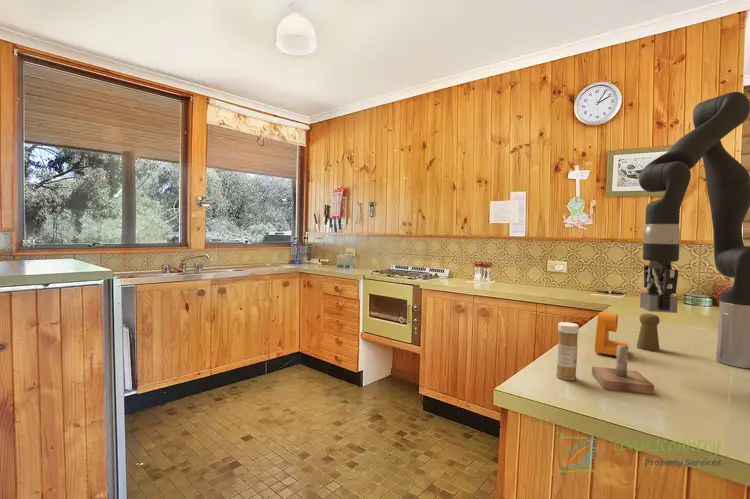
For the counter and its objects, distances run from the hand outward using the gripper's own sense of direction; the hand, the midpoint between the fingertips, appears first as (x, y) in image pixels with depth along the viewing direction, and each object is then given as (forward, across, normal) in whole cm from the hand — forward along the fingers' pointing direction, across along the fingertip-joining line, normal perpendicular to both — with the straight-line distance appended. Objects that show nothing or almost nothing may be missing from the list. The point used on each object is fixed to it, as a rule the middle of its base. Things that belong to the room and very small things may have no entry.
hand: (658, 307), depth 102 cm
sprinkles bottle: (+17, -11, +23) cm, 31 cm away
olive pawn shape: (+17, +26, -8) cm, 32 cm away
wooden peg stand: (+17, -11, +11) cm, 23 cm away
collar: (+1, 0, 0) cm, 1 cm away
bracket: (+17, +17, +5) cm, 25 cm away
